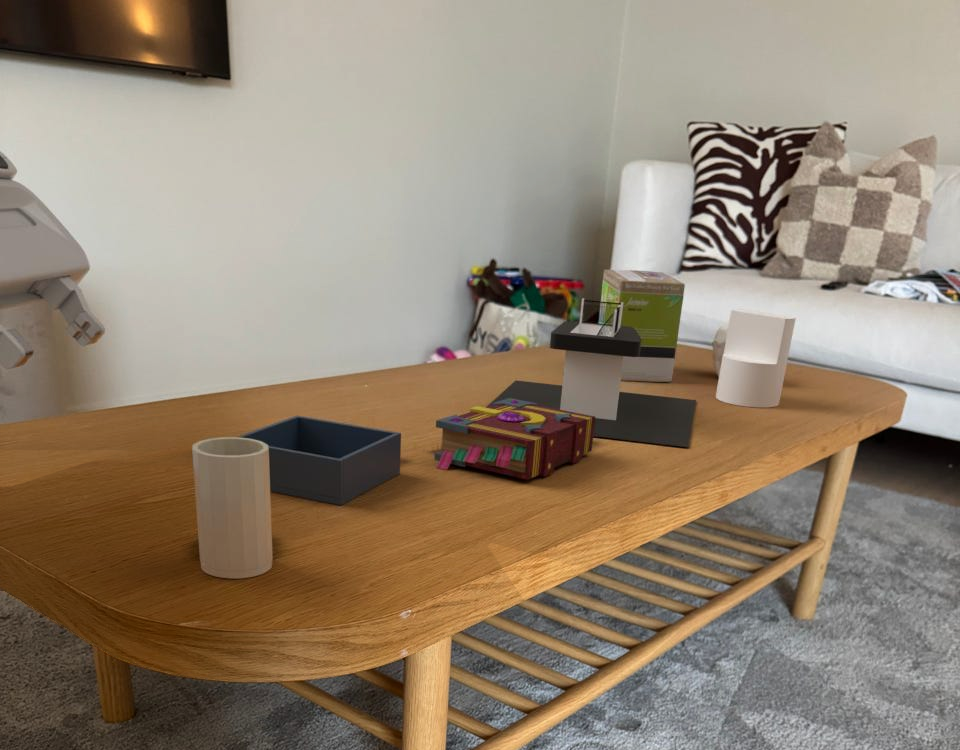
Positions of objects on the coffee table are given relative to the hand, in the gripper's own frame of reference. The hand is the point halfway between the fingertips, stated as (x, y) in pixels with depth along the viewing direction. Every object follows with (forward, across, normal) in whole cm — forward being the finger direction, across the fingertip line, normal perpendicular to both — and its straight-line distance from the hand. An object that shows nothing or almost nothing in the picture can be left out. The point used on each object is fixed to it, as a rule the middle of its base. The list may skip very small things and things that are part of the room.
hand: (61, 349), depth 66 cm
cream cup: (+19, 0, +2) cm, 19 cm away
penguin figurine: (+53, +97, -31) cm, 115 cm away
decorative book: (+31, +36, -10) cm, 49 cm away
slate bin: (+18, +23, +2) cm, 29 cm away
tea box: (+40, +95, -18) cm, 104 cm away
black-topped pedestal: (+36, +64, -15) cm, 75 cm away
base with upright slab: (+52, +81, -30) cm, 100 cm away
